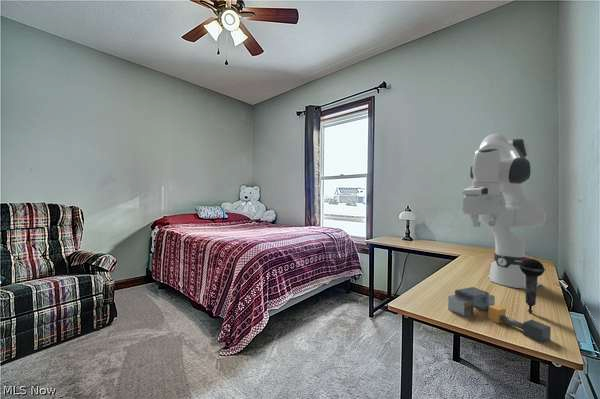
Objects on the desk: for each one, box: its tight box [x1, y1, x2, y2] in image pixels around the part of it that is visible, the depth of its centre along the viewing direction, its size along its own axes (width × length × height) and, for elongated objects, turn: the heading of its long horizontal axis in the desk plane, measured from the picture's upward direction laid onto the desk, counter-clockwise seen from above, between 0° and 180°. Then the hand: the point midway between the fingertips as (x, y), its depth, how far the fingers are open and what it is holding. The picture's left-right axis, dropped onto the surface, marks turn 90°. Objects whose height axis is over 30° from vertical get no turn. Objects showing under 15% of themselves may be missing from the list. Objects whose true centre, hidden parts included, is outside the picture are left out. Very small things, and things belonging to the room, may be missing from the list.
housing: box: [447, 286, 496, 318], centre depth 92 cm, size 17×6×7 cm, turn 112°
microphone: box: [519, 258, 546, 314], centre depth 90 cm, size 7×7×20 cm
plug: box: [487, 304, 552, 344], centre depth 79 cm, size 4×14×4 cm, turn 22°
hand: (484, 226), depth 95 cm, fingers open, 8 cm apart
